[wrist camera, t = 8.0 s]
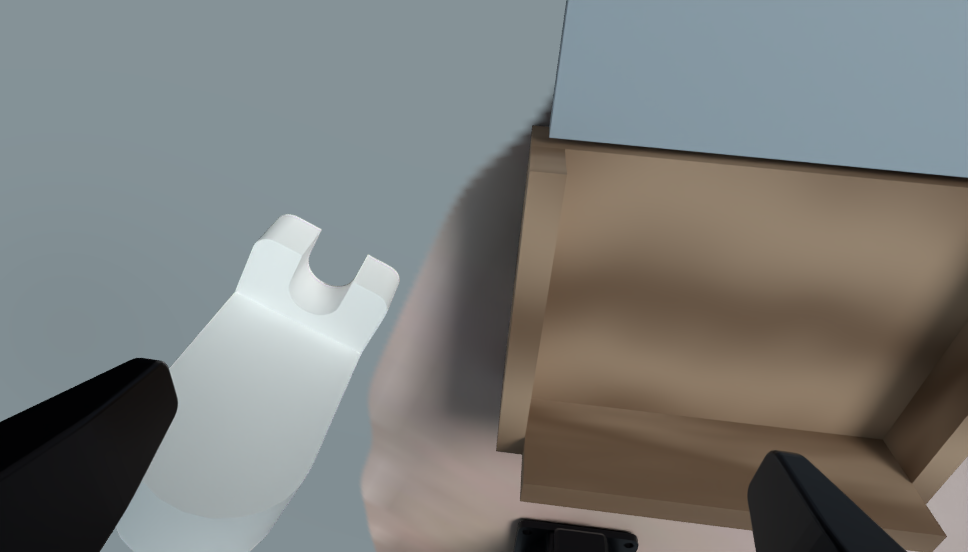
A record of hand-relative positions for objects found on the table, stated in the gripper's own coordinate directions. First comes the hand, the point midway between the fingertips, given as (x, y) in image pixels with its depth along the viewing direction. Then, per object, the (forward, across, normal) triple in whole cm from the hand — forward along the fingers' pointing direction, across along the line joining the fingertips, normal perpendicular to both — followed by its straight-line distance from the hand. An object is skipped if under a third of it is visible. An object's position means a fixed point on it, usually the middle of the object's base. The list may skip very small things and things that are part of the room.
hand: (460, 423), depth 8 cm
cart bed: (+12, -9, +4) cm, 16 cm away
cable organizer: (+12, +8, +9) cm, 17 cm away
